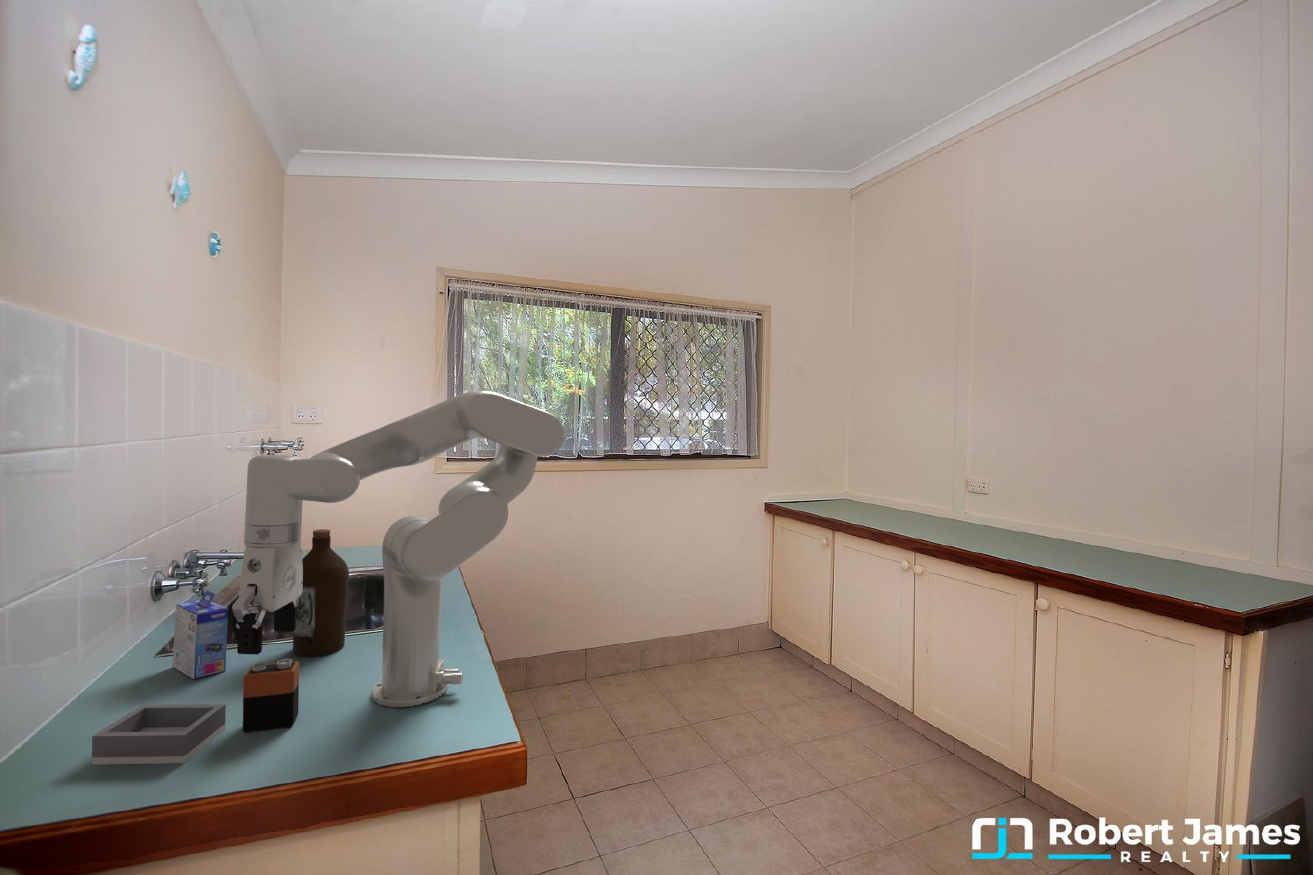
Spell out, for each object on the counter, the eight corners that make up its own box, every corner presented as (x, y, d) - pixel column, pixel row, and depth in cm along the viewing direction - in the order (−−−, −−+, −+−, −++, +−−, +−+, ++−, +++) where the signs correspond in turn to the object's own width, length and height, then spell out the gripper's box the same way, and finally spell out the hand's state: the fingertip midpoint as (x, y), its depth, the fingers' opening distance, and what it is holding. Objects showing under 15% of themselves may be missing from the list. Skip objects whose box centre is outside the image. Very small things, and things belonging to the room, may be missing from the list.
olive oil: (324, 636, 131) (327, 524, 130) (358, 644, 127) (361, 529, 126) (277, 652, 121) (279, 531, 121) (312, 662, 117) (315, 537, 116)
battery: (292, 728, 93) (293, 665, 93) (241, 734, 91) (242, 670, 90) (298, 714, 97) (300, 654, 97) (250, 720, 95) (251, 659, 94)
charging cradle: (225, 729, 92) (225, 704, 92) (184, 763, 83) (184, 735, 83) (142, 730, 91) (142, 704, 91) (91, 764, 82) (92, 736, 82)
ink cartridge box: (228, 670, 112) (230, 595, 112) (194, 681, 108) (195, 602, 107) (205, 658, 117) (206, 586, 117) (171, 667, 113) (172, 592, 112)
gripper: (267, 545, 85) (261, 664, 85) (324, 525, 102) (319, 624, 102) (211, 543, 84) (205, 663, 84) (278, 523, 101) (273, 622, 101)
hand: (267, 641), depth 93 cm, fingers open, 9 cm apart
